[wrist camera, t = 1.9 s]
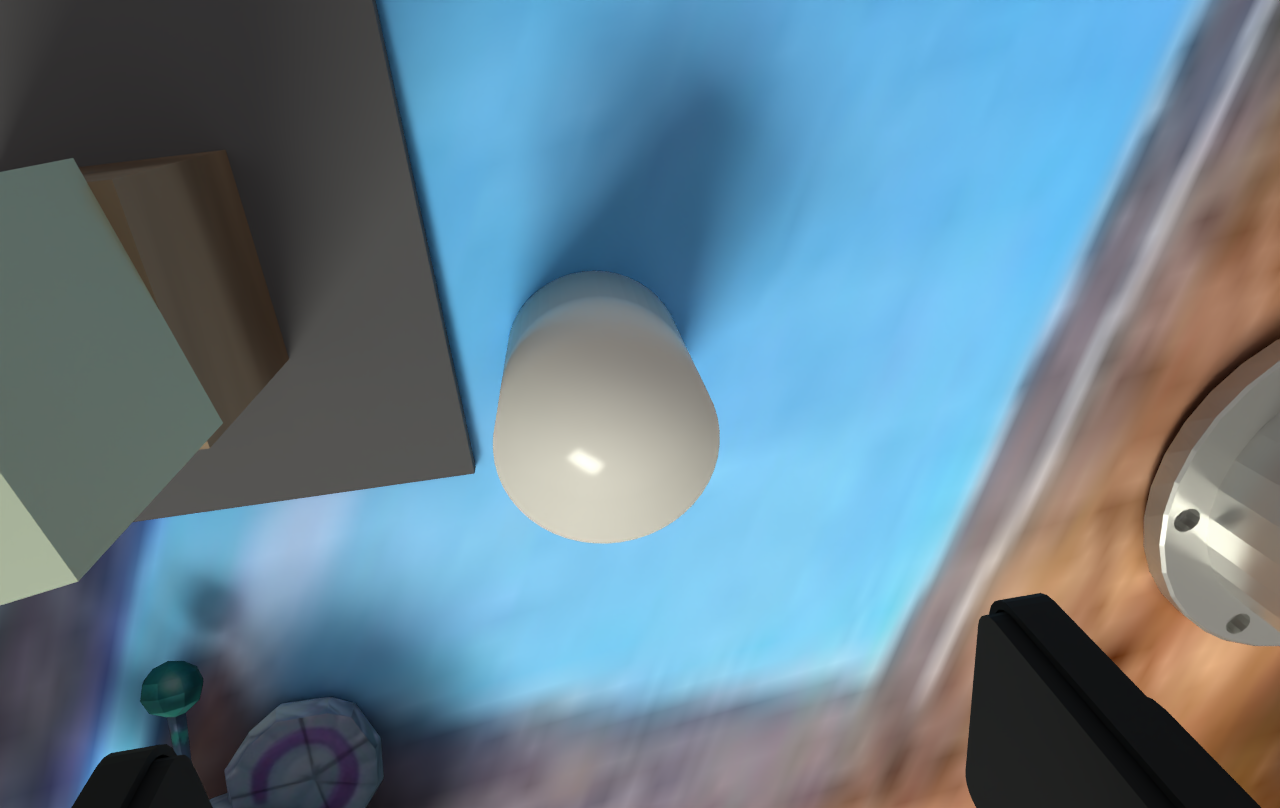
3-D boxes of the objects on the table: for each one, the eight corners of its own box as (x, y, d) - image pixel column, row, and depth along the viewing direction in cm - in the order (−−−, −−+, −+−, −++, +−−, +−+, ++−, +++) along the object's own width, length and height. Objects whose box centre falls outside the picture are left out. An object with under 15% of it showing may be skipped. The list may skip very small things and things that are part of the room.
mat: (361, -66, 18) (357, -69, 18) (475, 466, 24) (474, 473, 24) (-276, 1, 18) (-293, 0, 17) (-3, 534, 23) (-12, 542, 23)
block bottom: (225, 149, 19) (111, 179, 14) (289, 359, 22) (209, 448, 17) (-7, 177, 19) (-206, 217, 14) (82, 386, 21) (-63, 486, 16)
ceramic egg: (671, 259, 22) (711, 323, 17) (686, 421, 24) (726, 526, 19) (492, 283, 22) (473, 355, 16) (522, 444, 24) (514, 557, 18)
